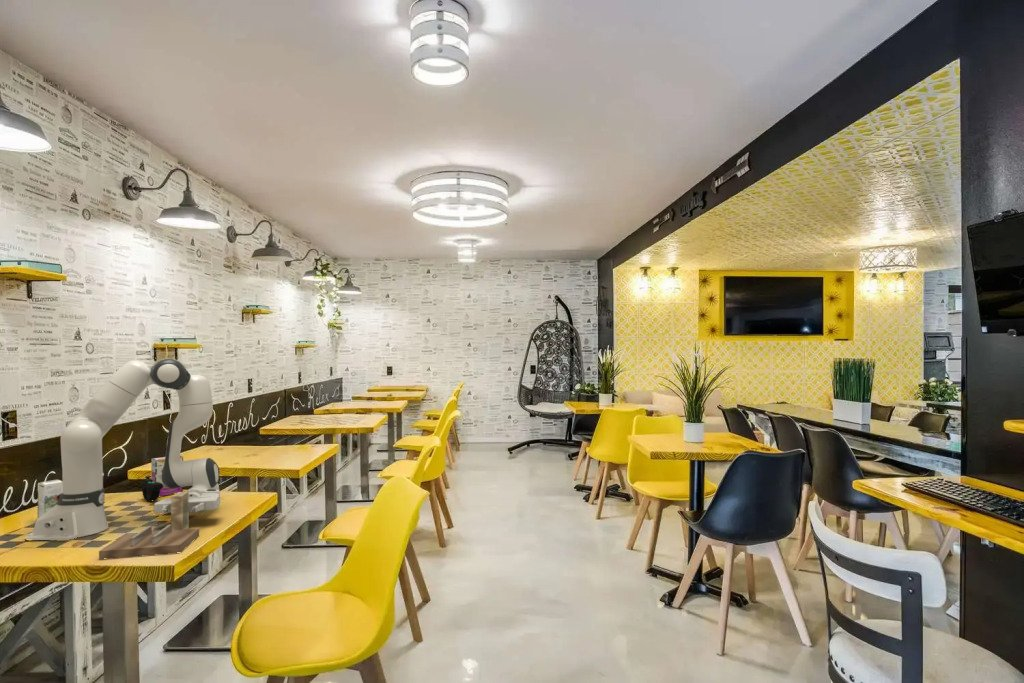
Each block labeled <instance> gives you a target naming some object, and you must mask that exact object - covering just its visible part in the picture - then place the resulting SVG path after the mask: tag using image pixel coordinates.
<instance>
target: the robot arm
mask: <svg viewBox="0 0 1024 683" xmlns="http://www.w3.org/2000/svg"><path fill="white" fill-rule="evenodd" d="M151 385H156V386H158V387H161V388H164V389H170V390H175V391H176V392H177V396H178V407H179V408H178V414H177V416H176V417H175V418H173V419H172V420H171V422H170V425H169V427H168V429H169V430H168V433H167V434H168V436H167V439H166V440H167V441H166V442H167V443H166V449H165V456H164V457H165V463H164V467H163V471H162V482H163V484H165V485H166V486H167V487H169V488H171V489H175V488H180V487H183V488H184V487H190V486H192V487H191V488H189V489H187V490H185V492H188V496H189V514H196V513H199V512H204V511H212V510H213V511H214V510H217V509H219V508H220V507H221V506H220V505H221V492H220V485H219V482H220V467H219V464H217V462H216V461H215V460H214V459H213V458H211V457H206V458H205V457H204V458H195V459H188V460H187V459H185V460H183V461H181V460H180V456H181V452H182V451H181V450H182V444H183V443H182V441H183V439H184V436H186V434H188V433H189V432H191V431H193V430H196V429H198V428H200V427H201V426H203V425H205V424H207V423H208V422H209V421H210V419H211V418H212V416H213V411H214V407H213V405H214V404H213V395H212V390H211V386H210V383H209V380H208V378H207V377H206V376H204V375H201V374H191V373H189V371H188V370H187V369H186V366H185V365H184V363H182V362H181V361H179V360H178V359H175V358H171V357H169V358H168V357H167V358H163V359H160V360H158V361H157V362H155V363H151V364H147V363H145V362H143V361H141V360H136V359H135V360H128V361H127V362H126V363H124V364H123V365H122V366H121V367H120V368H118V369H117V370H116V371H115V372H114V373H113V374H112V375H111V376H110V377H109V378H108V379H107V380H106V382H104V384H103V385H102V386H101V387H100V388H99V389H98V391H96V393H95V394H94V395H93V396H92V397H91V399H90V400H89V401H88V402H87V403H86V404H85V405H84V407H82V409H81V410H80V411H79V412H78V413H77V415H76V416H75V417H74V418H73V419H72V420H71V421H70V422H69V423H68V425H66V427H65V428H64V429H63V431H62V432H61V434H60V456H61V458H60V459H61V468H62V482H63V493H61V494H59V495H57V496H56V497H54V498H55V499H54V501H55V500H57V503H56V504H57V505H55V506H54V507H52V508H51V509H50V510H48V511H47V512H46V513H44V514H43V515H42V516H40V517H39V518H38V517H37V519H36V520H35V523H34V528H33V531H32V532H30V533H28V534H27V535H25V537H24V540H25V539H33V540H57V541H70V539H71V540H74V538H75V539H78V538H82V537H86V536H90V535H94V534H97V533H101V532H103V531H106V530H107V529H108V528H109V527H110V526H109V524H108V521H107V517H106V512H105V506H104V504H105V498H106V495H105V488H104V475H103V474H104V467H103V466H104V465H103V462H104V461H103V437H104V436H105V435H106V434H107V433H108V432H109V431H110V429H112V427H113V426H114V425H115V424H116V423H117V422H118V421H119V420H120V418H122V416H123V415H124V414H125V413H126V411H128V410H129V409H130V407H131V406H132V404H134V402H135V401H136V400H137V399H138V397H139V396H140V395H141V394H142V393H143V391H144V390H145V389H147V388H148V387H149V386H151ZM153 512H154V514H162V515H167V514H169V513H171V497H168V498H164V499H161V500H158V501H157V502H154V505H153ZM77 537H78V538H77Z"/></svg>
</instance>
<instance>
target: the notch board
mask: <svg viewBox="0 0 1024 683" xmlns="http://www.w3.org/2000/svg"><path fill="white" fill-rule="evenodd" d="M152 527H153V526H152V525H147V526H146V527H145V528H143V529H141V531H139V532H133V533H132V532H131V533H125V534H123V535H121V536H120V537H119V538H117V539H115V540H114V541H112V542H111V543H110V544H108V545H106V546H105V547H103V548H102V549H100V550H98V560H99V559H101V560H105V559H104V558H113V559H119V558H118V557H126V558H133V557H132V556H138V557H143V556H142V555H150V556H156V555H155V554H163V555H169V554H168V553H175V554H178V553H177V552H181V551H182V550H183V549H184V548H185V547H186V548H187V547H188V546H189V544H190V543H191V542H192V541H193V540H194V539H195V540H197V539H198V538H199V537H200V528H199V527H198V528H189V529H184V530H172V525H171V524H168V525H166V526H164V527H163V528H162V529H161V530H158V531H153V528H152ZM195 540H194V541H195ZM194 541H193V542H194ZM193 542H192V543H193ZM192 543H191V544H192ZM191 544H190V545H191ZM186 548H185V549H186ZM185 549H184V550H185ZM184 550H183V551H184ZM183 551H182V552H183ZM182 552H181V553H182Z"/></svg>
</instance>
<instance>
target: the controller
mask: <svg viewBox="0 0 1024 683" xmlns="http://www.w3.org/2000/svg"><path fill="white" fill-rule="evenodd" d="M140 484H141V485H140V486H141V492H142V497H143V498H144V500H145V501H146V500H147V501H146V502H153V501H152V500H154V501H156V500H158V499H159V498H160V497H159V494H160V489H162V488H163V484H162V483H159V482H156V481H153V480H152V479H151V475H147V476H145V479H144V480H143V481H141V482H140Z"/></svg>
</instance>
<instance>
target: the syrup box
mask: <svg viewBox="0 0 1024 683" xmlns="http://www.w3.org/2000/svg"><path fill="white" fill-rule="evenodd" d="M61 493H63V480H60V479H53V480H52V479H51V480H47V481H41V482H40V481H39V482H38V483H37V519H38V518H39V517H40V516H42V515H43V514H44V513H46V512H47V511H48V510H50V509H51V508H52V507H54V506H55V505H57V504H56V503H57V500H55V501H54V499H55V498H54V497H56V496H57V495H59V494H61Z"/></svg>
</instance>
